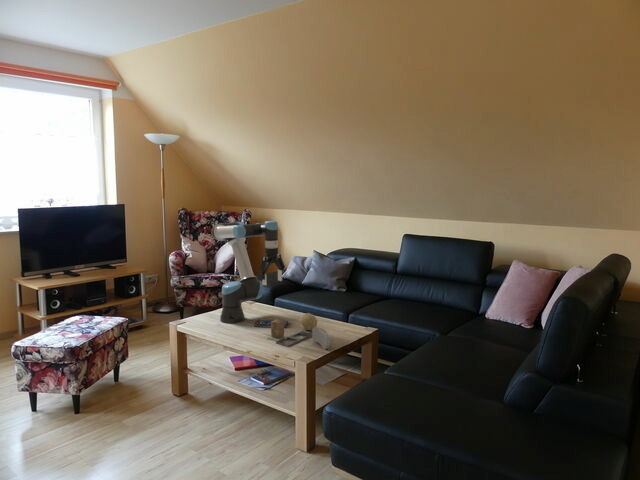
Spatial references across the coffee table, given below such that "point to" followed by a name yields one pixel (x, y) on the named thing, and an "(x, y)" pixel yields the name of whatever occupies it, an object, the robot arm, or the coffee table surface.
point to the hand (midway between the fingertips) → (272, 282)
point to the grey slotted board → (294, 338)
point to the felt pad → (276, 339)
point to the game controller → (321, 337)
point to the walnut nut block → (277, 329)
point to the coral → (308, 321)
